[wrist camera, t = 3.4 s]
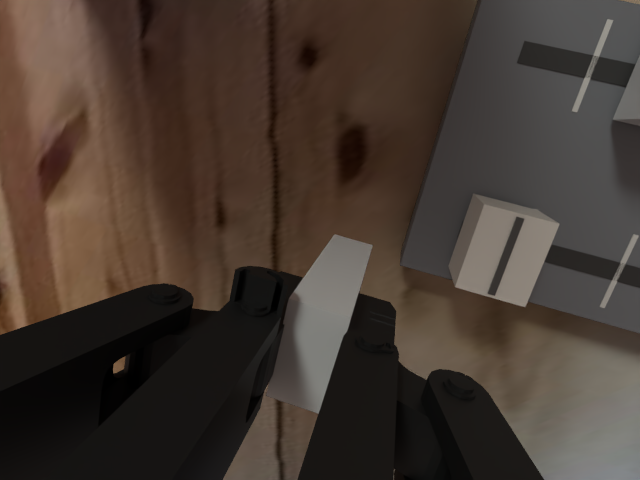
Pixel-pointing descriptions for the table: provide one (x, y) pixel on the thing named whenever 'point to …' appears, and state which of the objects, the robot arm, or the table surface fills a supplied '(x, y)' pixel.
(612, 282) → the console
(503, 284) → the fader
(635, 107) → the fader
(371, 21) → the table surface
